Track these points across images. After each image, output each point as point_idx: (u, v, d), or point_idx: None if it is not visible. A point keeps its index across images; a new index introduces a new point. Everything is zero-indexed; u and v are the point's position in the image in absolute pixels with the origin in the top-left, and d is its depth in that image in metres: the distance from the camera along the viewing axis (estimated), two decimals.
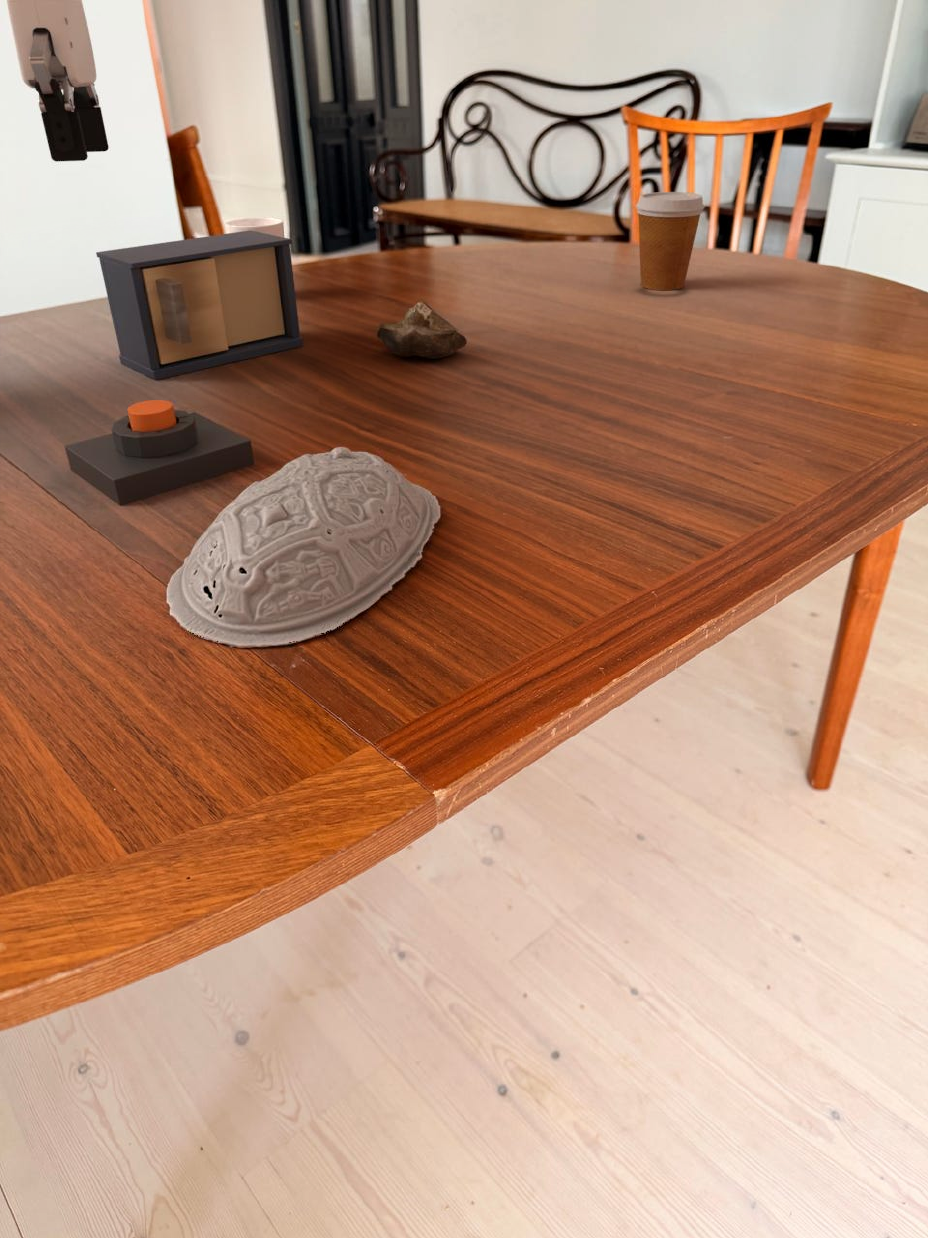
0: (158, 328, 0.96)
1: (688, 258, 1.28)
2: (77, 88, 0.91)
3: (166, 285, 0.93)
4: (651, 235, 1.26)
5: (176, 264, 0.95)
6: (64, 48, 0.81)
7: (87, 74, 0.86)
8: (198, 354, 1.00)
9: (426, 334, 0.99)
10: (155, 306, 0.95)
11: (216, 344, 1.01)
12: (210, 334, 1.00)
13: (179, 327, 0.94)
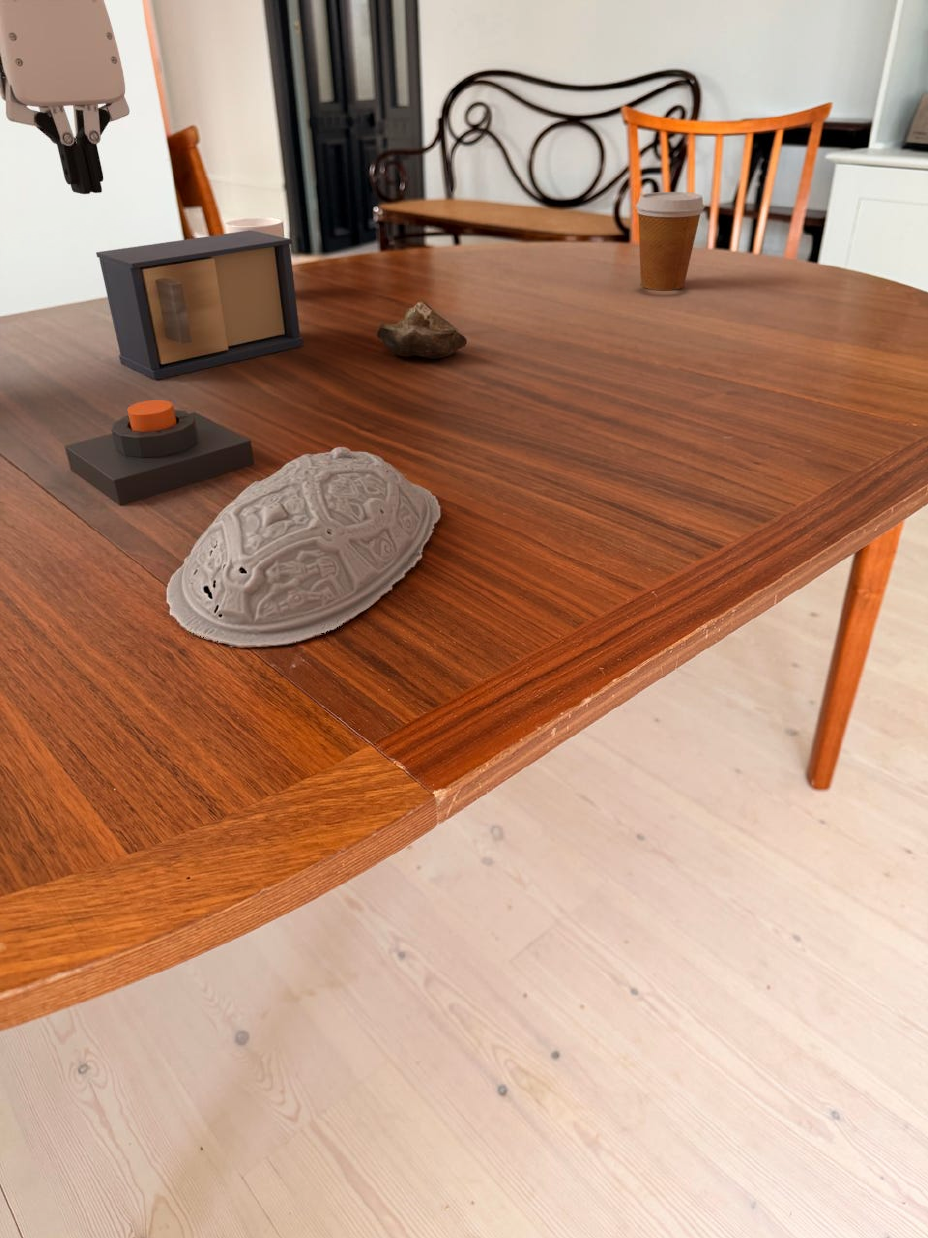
0: (158, 328, 0.96)
1: (688, 258, 1.28)
2: None
3: (166, 285, 0.93)
4: (651, 235, 1.26)
5: (176, 264, 0.95)
6: (8, 66, 0.75)
7: (73, 92, 0.79)
8: (198, 354, 1.00)
9: (426, 334, 0.99)
10: (155, 306, 0.95)
11: (216, 344, 1.01)
12: (210, 334, 1.00)
13: (179, 327, 0.94)
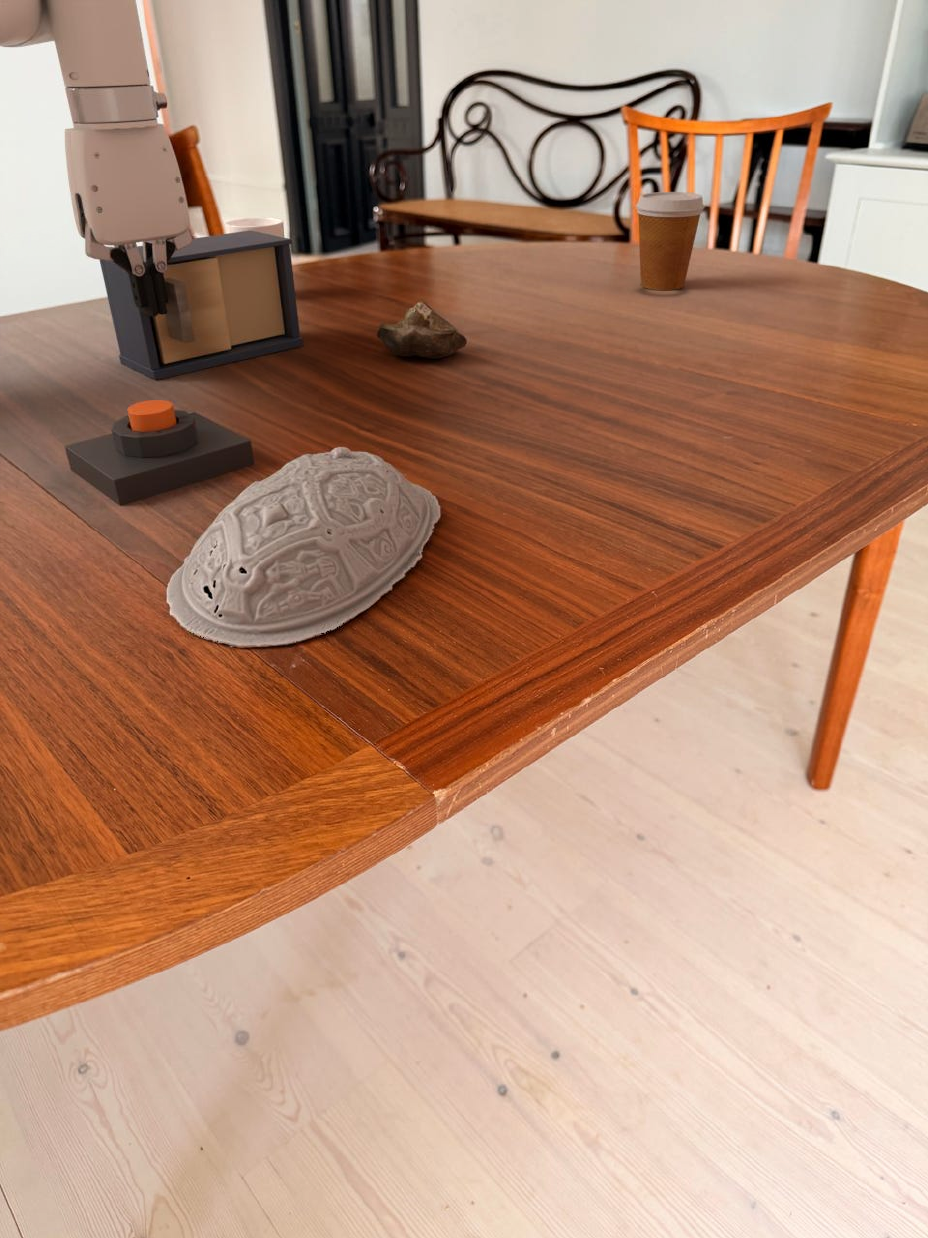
0: (162, 328, 0.97)
1: (688, 258, 1.28)
2: (153, 252, 0.91)
3: (170, 285, 0.93)
4: (651, 235, 1.26)
5: (179, 264, 0.95)
6: (89, 213, 0.84)
7: (145, 231, 0.87)
8: (201, 353, 1.01)
9: (426, 334, 0.99)
10: None
11: (219, 343, 1.02)
12: (213, 333, 1.01)
13: (182, 327, 0.94)
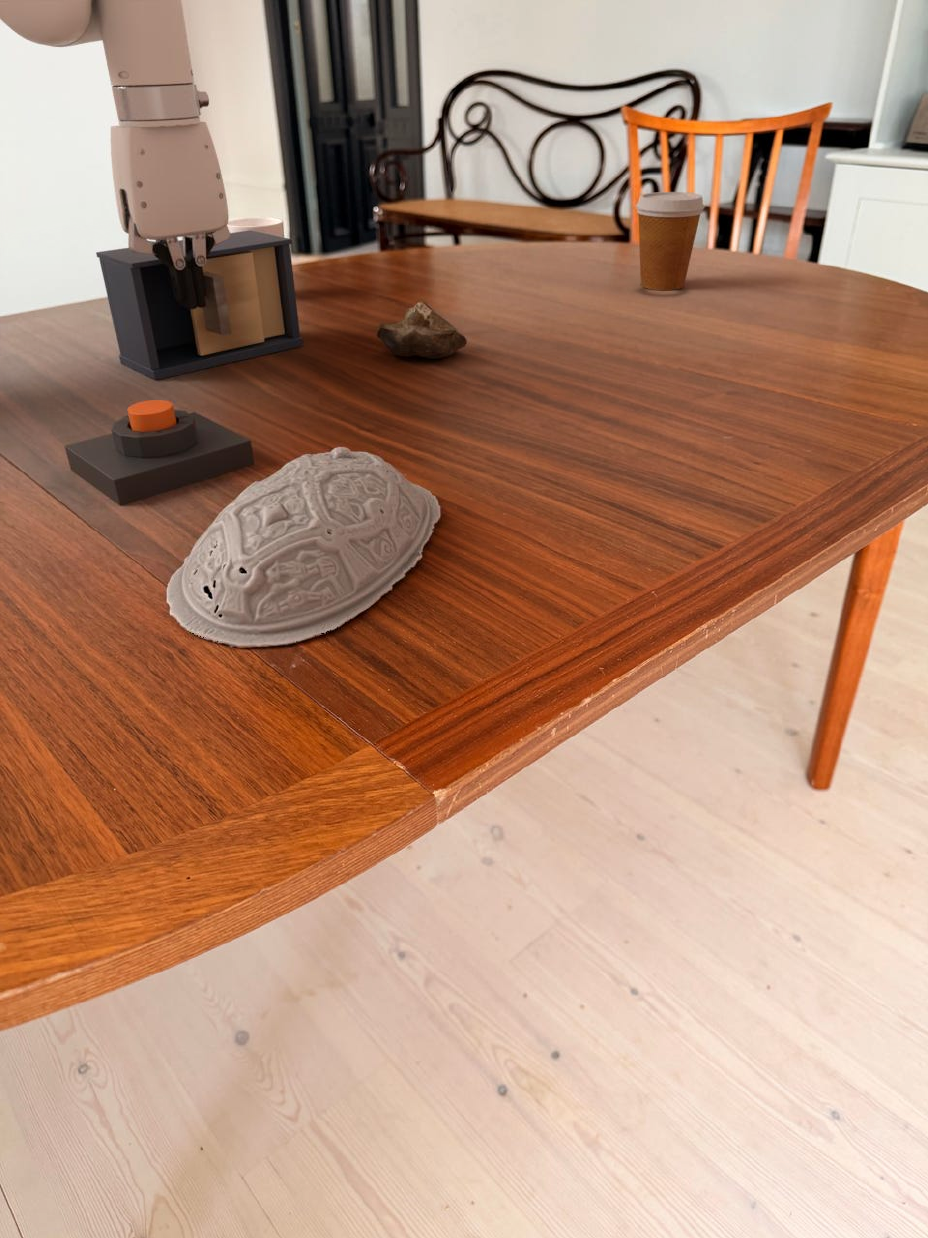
0: (199, 320, 0.99)
1: (688, 258, 1.28)
2: (192, 247, 0.94)
3: (208, 278, 0.95)
4: (651, 235, 1.26)
5: (216, 258, 0.98)
6: (134, 208, 0.86)
7: (186, 226, 0.90)
8: (236, 346, 1.03)
9: (426, 334, 0.99)
10: None
11: (253, 336, 1.04)
12: (247, 326, 1.03)
13: (219, 319, 0.97)
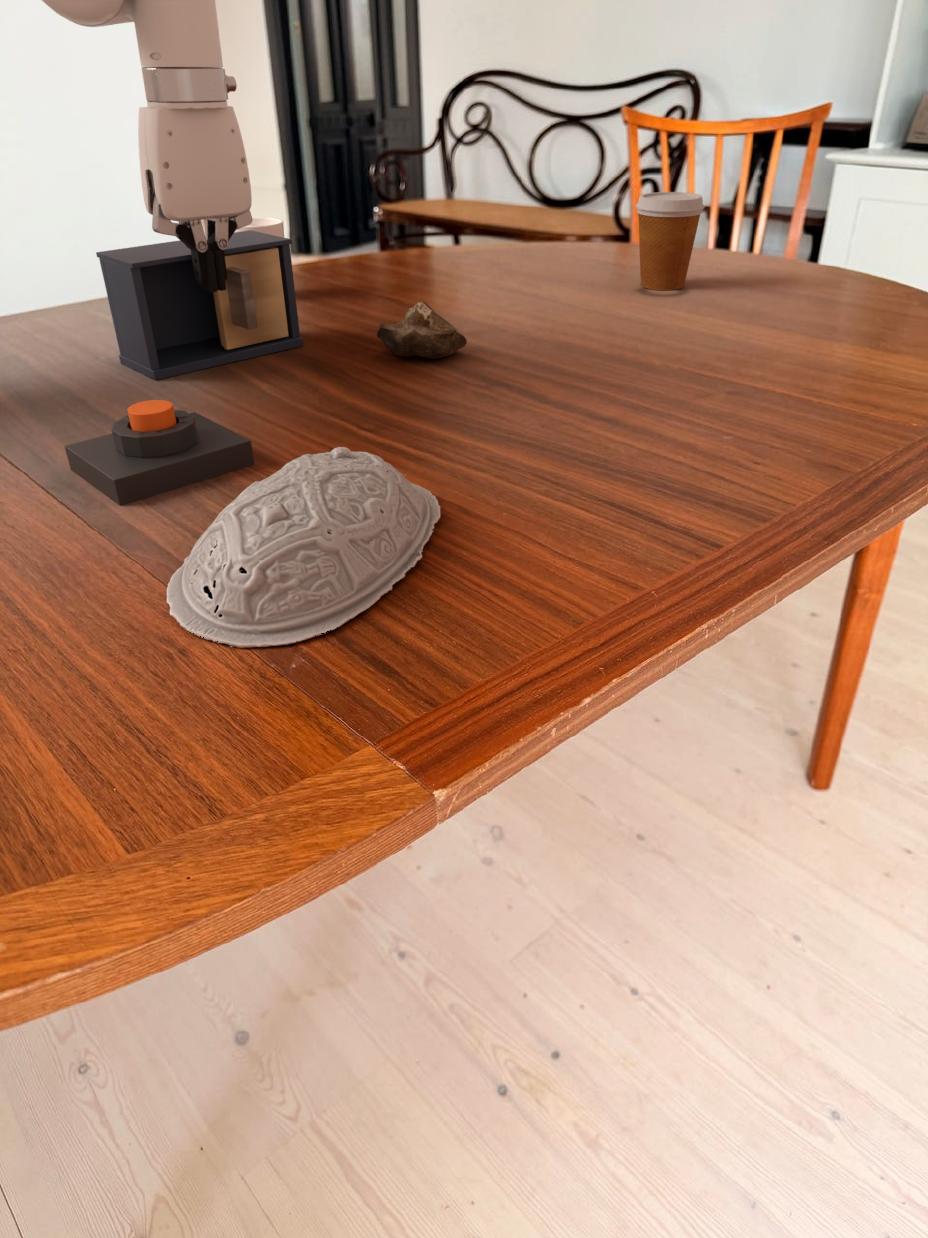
0: (225, 315, 1.01)
1: (688, 258, 1.28)
2: (214, 230, 0.94)
3: (236, 273, 0.97)
4: (651, 235, 1.26)
5: (243, 253, 0.99)
6: (159, 189, 0.87)
7: (210, 208, 0.91)
8: (261, 340, 1.05)
9: (426, 334, 0.99)
10: (223, 293, 1.00)
11: (278, 331, 1.06)
12: (272, 321, 1.05)
13: (246, 314, 0.99)
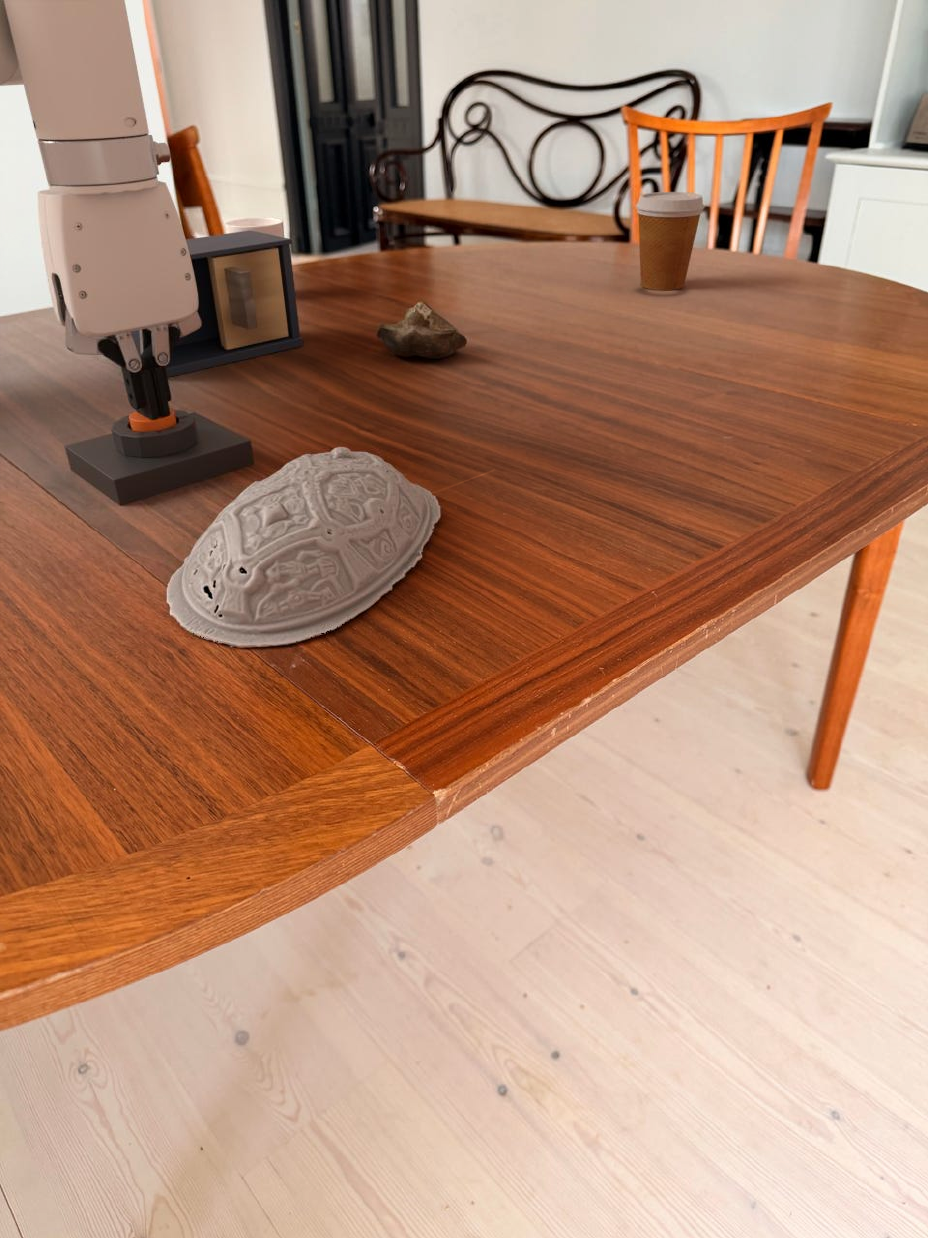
0: (225, 315, 1.01)
1: (688, 258, 1.28)
2: (152, 340, 0.72)
3: (236, 273, 0.97)
4: (651, 235, 1.26)
5: (243, 253, 0.99)
6: (70, 299, 0.65)
7: (142, 317, 0.69)
8: (261, 340, 1.05)
9: (426, 334, 0.99)
10: (223, 293, 1.00)
11: (278, 331, 1.06)
12: (272, 321, 1.05)
13: (246, 314, 0.99)
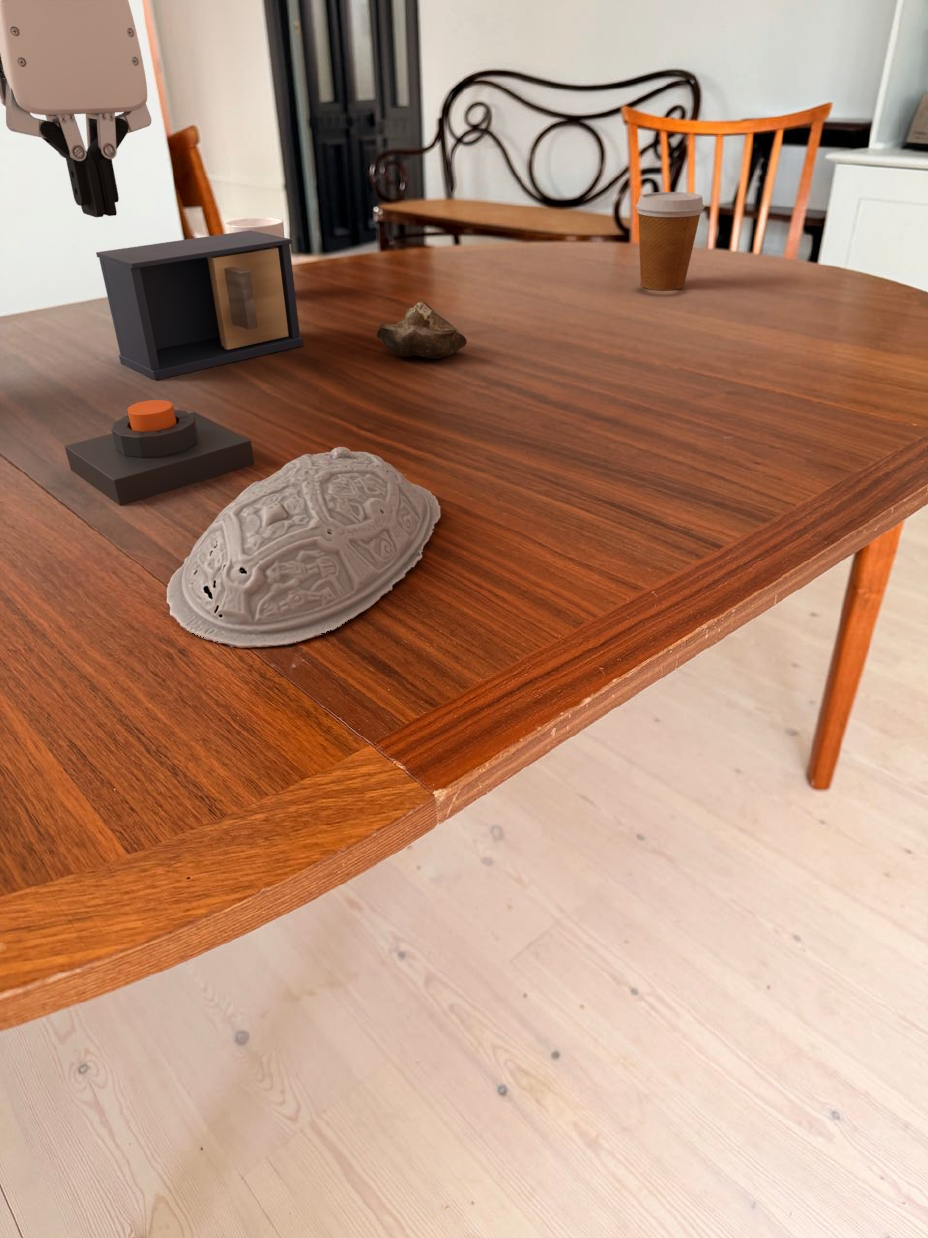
0: (225, 315, 1.01)
1: (688, 258, 1.28)
2: None
3: (236, 273, 0.97)
4: (651, 235, 1.26)
5: (243, 253, 0.99)
6: (8, 66, 0.63)
7: (86, 98, 0.66)
8: (261, 340, 1.05)
9: (426, 334, 0.99)
10: (223, 293, 1.00)
11: (278, 331, 1.06)
12: (272, 321, 1.05)
13: (246, 314, 0.99)
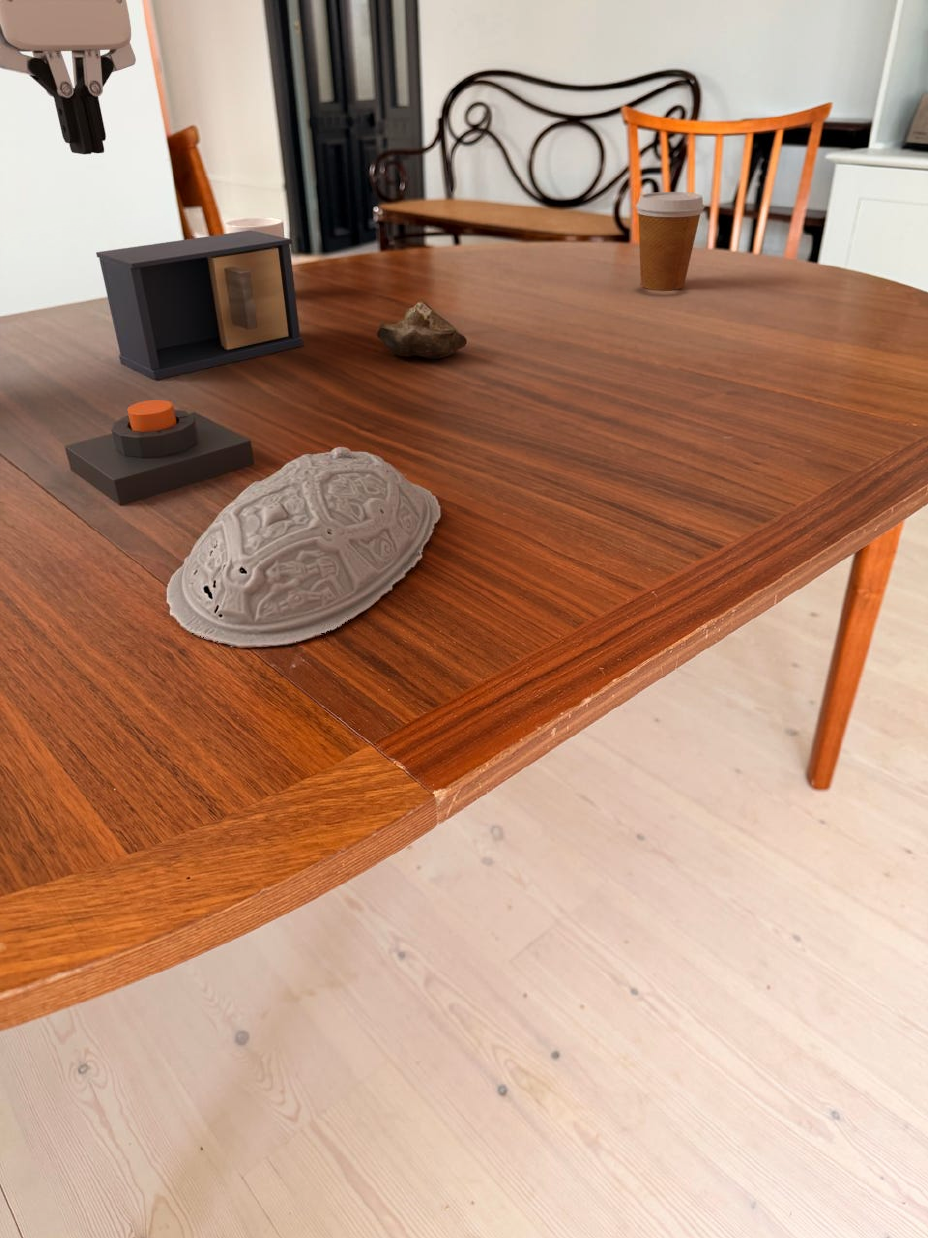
0: (225, 315, 1.01)
1: (688, 258, 1.28)
2: None
3: (236, 273, 0.97)
4: (651, 235, 1.26)
5: (243, 253, 0.99)
6: None
7: (72, 35, 0.69)
8: (261, 340, 1.05)
9: (426, 334, 0.99)
10: (223, 293, 1.00)
11: (278, 331, 1.06)
12: (272, 321, 1.05)
13: (246, 314, 0.99)
